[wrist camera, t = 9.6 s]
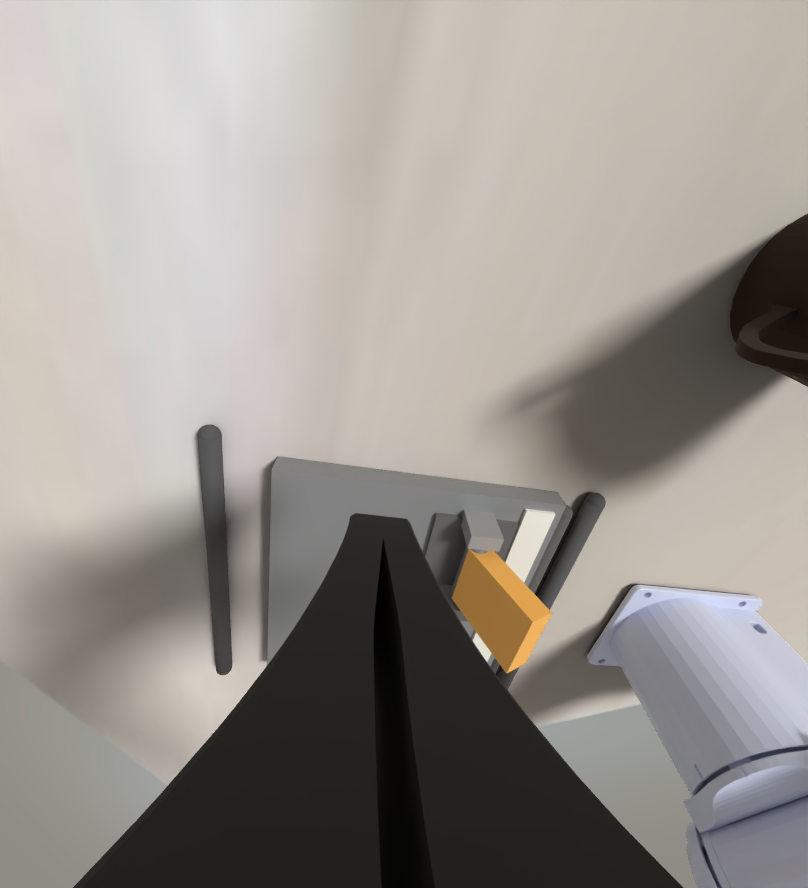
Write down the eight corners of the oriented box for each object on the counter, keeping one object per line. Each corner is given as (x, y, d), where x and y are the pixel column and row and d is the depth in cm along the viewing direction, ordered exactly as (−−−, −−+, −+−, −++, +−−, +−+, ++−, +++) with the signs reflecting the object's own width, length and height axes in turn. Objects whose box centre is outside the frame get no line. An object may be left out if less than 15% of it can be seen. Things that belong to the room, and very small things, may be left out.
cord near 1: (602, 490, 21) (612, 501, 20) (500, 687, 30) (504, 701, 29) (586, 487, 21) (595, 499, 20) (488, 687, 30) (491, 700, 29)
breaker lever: (481, 533, 20) (553, 610, 16) (462, 586, 22) (523, 666, 18) (463, 538, 19) (534, 619, 16) (445, 592, 21) (504, 676, 18)
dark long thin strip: (570, 501, 21) (578, 513, 21) (486, 679, 29) (489, 692, 28) (554, 499, 21) (561, 510, 20) (473, 678, 29) (476, 692, 28)
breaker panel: (557, 492, 21) (584, 531, 18) (478, 666, 29) (489, 713, 26) (277, 456, 19) (259, 494, 16) (271, 653, 27) (258, 703, 24)
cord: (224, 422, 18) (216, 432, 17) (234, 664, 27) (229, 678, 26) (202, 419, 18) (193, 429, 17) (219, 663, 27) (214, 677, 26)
